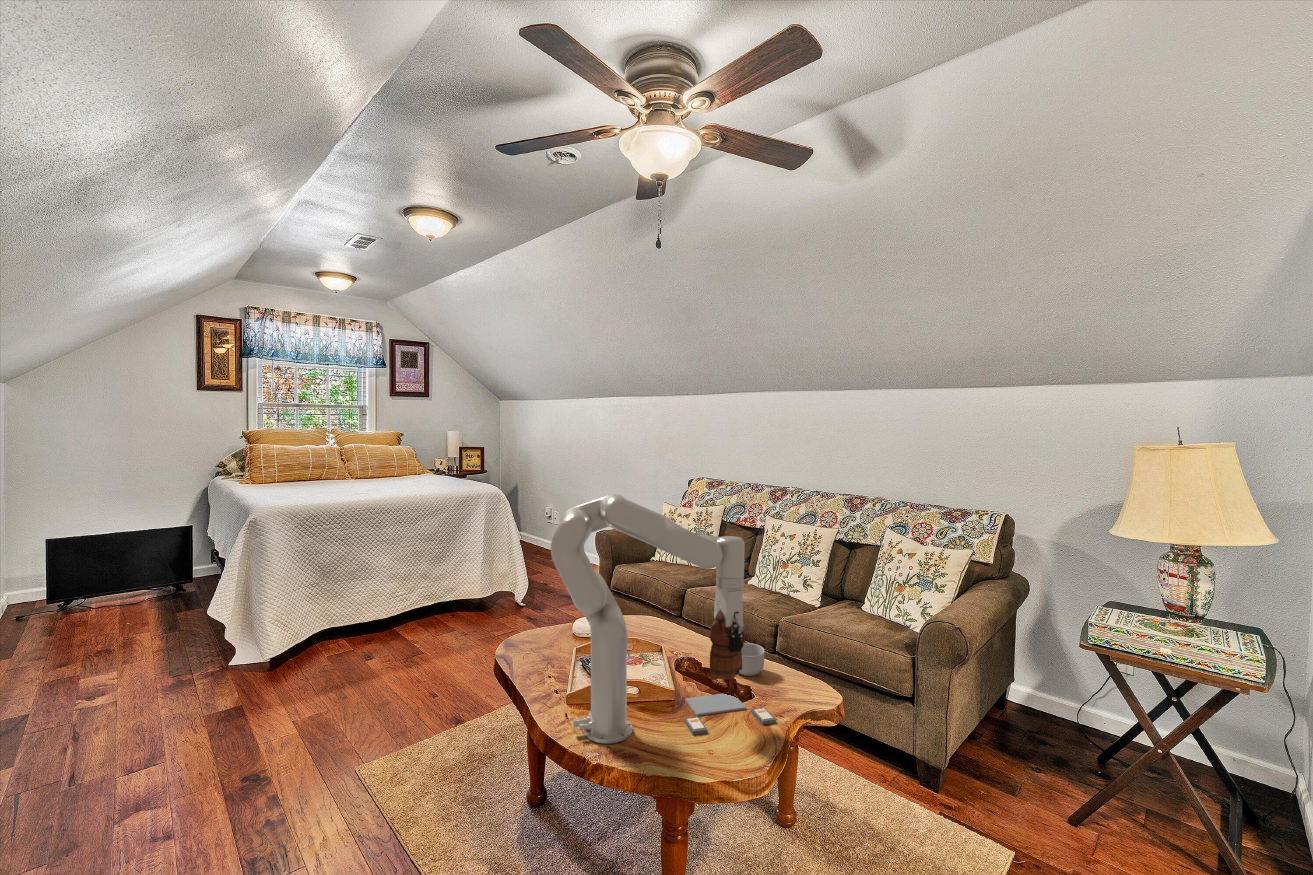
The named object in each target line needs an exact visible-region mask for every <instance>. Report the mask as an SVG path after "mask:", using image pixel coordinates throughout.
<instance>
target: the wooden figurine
mask: <svg viewBox="0 0 1313 875" xmlns="http://www.w3.org/2000/svg"><path fill="white" fill-rule="evenodd" d="M724 621H725V617H724V614H723V612H722V611H721V610H719V611H718V613H717V614H716V617H715V618H714V621H713V622H712V624H711V626H710V632H709V634H710V635H709V640H710V642H711V644H712V645H711V646H710V652H709V672H710V677H712V678H713V679H719V680H731V679H734V678H735V677H736V676H738V675H740V671H739V670H742V651H740V652H730V651H729V638H730V636H731V634H730V627H728V628H725V627H724V626H723V623H724ZM732 625H737V623H734V621H733V623H732ZM735 629H737V628H733V631H735ZM744 643H745V633H744V632H743V633H742V637H741V649H742V648H743V646H744Z"/></svg>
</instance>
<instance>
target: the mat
mask: <svg viewBox="0 0 1313 875" xmlns="http://www.w3.org/2000/svg"><path fill="white" fill-rule="evenodd" d="M736 697H737V696H736ZM736 697H734V696H731V695H727V694H724V693H717V694H711V695H709V694H708V695H702V696H700V695H699V696H694V697H687V698H686V697H685V702H686V703H687V705H688V706H689V707H690V709H691V710H692V712H693V713H694V714H695V715H696V716H695V717H700V716H701V717H702V716H706V715H714V714H716V715H717V714H722V713H729V712H736V711H743V710H747V707H746V705H744V704H743V702H742V701H741V700H740V699H739V698H738V697H737V698H736Z"/></svg>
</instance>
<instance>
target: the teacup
mask: <svg viewBox="0 0 1313 875" xmlns="http://www.w3.org/2000/svg"><path fill="white" fill-rule="evenodd" d="M741 651H742V670H739V671H740V673H739V675H742V676H745V677H753V676H756V675H758V674H759V673H760V672H762V671H763V670H764V667H765V652H766V650H765V649H764V647H763V646H761V645H759V644H757V643H752V642H744V646H743V648H742V649H741Z"/></svg>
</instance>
